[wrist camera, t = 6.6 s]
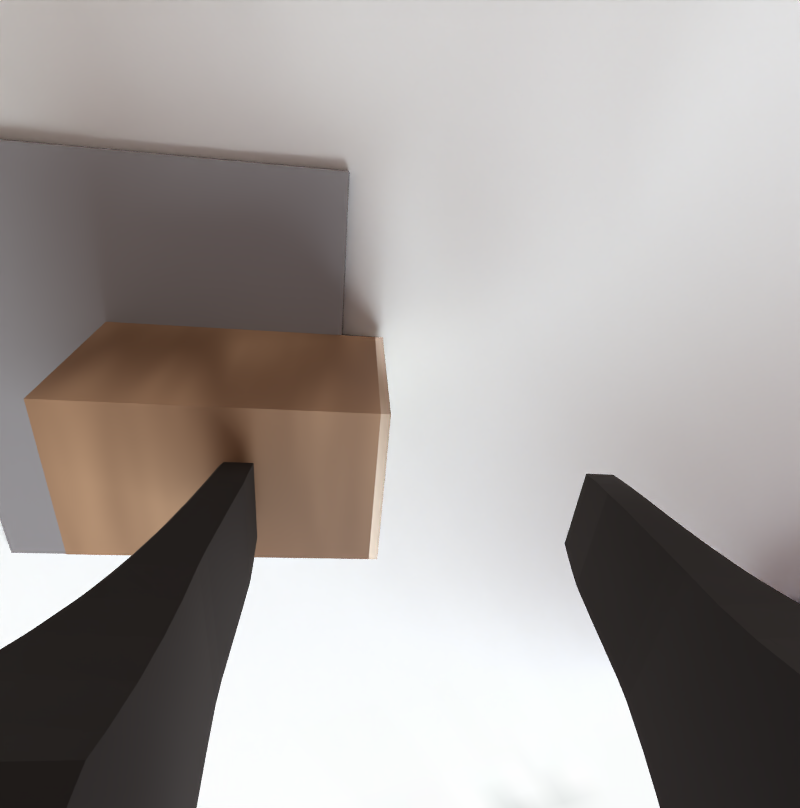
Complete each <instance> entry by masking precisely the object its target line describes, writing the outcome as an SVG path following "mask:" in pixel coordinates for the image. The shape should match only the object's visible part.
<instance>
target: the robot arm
mask: <svg viewBox="0 0 800 808" xmlns="http://www.w3.org/2000/svg"><path fill="white" fill-rule="evenodd" d="M256 543H257V521H256V501H255V481H254V463H241V462H223V463H222V464H221V465H219V466H218V467H217V469H216V470H215V471H214V472H213V473H212V474H211V476H210V477H209V478H208V479H207V480H206V481H205V482H204V484H203V485H202V486H201V487H200V488H199V489H198V490H197V491H196V492H195V494H194V495H193V496H192V497H191V498H190V499H189V500H188V501H187V502H186V503H185V504H184V505H183V506H182V507H181V508H180V509H179V510H178V511H177V513H176V514H175V515H174V516H173V517H172V518H171V519H170V520H169V521H168V522H167V523H166V524H165V525H164V526H163V527H162V528H161V529H160V530H159V531H158V532H157V533H156V534H154V535H153V536H152V537H151V538H150V539H149V540H148V541H147V542H146V543H145V544H144V545H143V546H141V547H140V548H139V549H138V550H137V551H136V552H135V553H134V554H133V555H132V556H131V557H129V558H128V559H127V560H126V561H125V562H124V563H122V564H121V565H120V566H119V567H118V568H117V569H115V570H114V571H113V572H112V573H110V574H109V575H108V576H107V577H106V578H104V579H103V580H102V581H100V582H99V583H98V584H97V585H95V586H94V587H93V588H91V589H90V590H89V591H88V592H86V593H85V594H84V595H82V596H81V597H80V598H78V599H77V600H75V601H74V602H72V603H71V604H70V605H68V606H67V607H65V608H64V609H62V610H61V611H59V612H58V613H56V614H55V615H53V616H52V617H50V618H49V619H47V620H46V621H44V622H43V623H42V624H40V625H39V626H37V627H36V628H34V629H33V630H31V631H30V632H28V633H26V634H25V635H23V636H22V637H20V638H18V639H17V640H15V641H13V642H12V643H10V644H9V645H7V646H5V647H4V648H2V649H0V808H196V807H197V802H198V796H199V790H200V785H201V779H202V774H203V768H204V763H205V757H206V752H207V746H208V741H209V736H210V731H211V725H212V720H213V715H214V710H215V705H216V701H217V697H218V693H219V688H220V684H221V681H222V677H223V674H224V670H225V667H226V663H227V660H228V657H229V653H230V650H231V646H232V643H233V639H234V636H235V633H236V629H237V626H238V622H239V619H240V615H241V612H242V608H243V605H244V601H245V598H246V594H247V591H248V587H249V584H250V579H251V573H252V567H253V562H254V555H255V549H256ZM565 546H566V550H567V554H568V558H569V561H570V565H571V569H572V572H573V575H574V578H575V582H576V585H577V587H578V590H579V592H580V595H581V597H582V599H583V602H584V604H585V606H586V608H587V611H588V613H589V615H590V618H591V620H592V622H593V624H594V627H595V629H596V631H597V633H598V636H599V638H600V640H601V642H602V645H603V647H604V649H605V651H606V654H607V656H608V658H609V660H610V663H611V665H612V667H613V669H614V672H615V674H616V676H617V678H618V681H619V683H620V686H621V688H622V691H623V693H624V696H625V698H626V701H627V704H628V706H629V710H630V713H631V716H632V719H633V722H634V725H635V728H636V731H637V734H638V737H639V740H640V743H641V746H642V749H643V752H644V755H645V759H646V762H647V765H648V769H649V772H650V775H651V779H652V782H653V785H654V789H655V792H656V795H657V799H658V802H659V806H660V808H800V604H799V603H797V602H795V601H793V600H792V599H790V598H788V597H787V596H785V595H783V594H782V593H780V592H778V591H777V590H775V589H773V588H772V587H770V586H768V585H767V584H765V583H763V582H762V581H760V580H759V579H757V578H755V577H754V576H752V575H751V574H749V573H748V572H746V571H745V570H743V569H742V568H740V567H739V566H737V565H736V564H734V563H733V562H731V561H730V560H728V559H727V558H725V557H724V556H723V555H721V554H720V553H718V552H717V551H715V550H714V549H712V548H711V547H710V546H708V545H707V544H705V543H704V542H703V541H701V540H700V539H699V538H697V537H696V536H694V535H693V534H692V533H690V532H689V531H688V530H686V529H685V528H684V527H682V526H681V525H680V524H678V523H677V522H676V521H674V520H673V519H672V518H670V517H669V516H668V515H667V514H665V513H664V512H663V511H661V510H660V509H659V508H657V507H656V506H655V505H654V504H652V503H651V502H650V501H648V500H647V499H646V498H644V497H643V496H642V495H640V494H639V493H638V492H636V491H635V490H634V489H633V488H631V487H630V486H628V485H627V484H626V483H624V482H623V481H621V480H620V479H618V478H617V477H615V476H614V475H603V474H586V476H585V480H584V483H583V486H582V489H581V493H580V496H579V499H578V502H577V506H576V509H575V512H574V515H573V519H572V522H571V525H570V528H569V532H568V535H567V538H566V541H565Z"/></svg>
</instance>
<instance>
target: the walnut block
mask: <svg viewBox="0 0 800 808" xmlns="http://www.w3.org/2000/svg"><path fill="white" fill-rule="evenodd" d="M24 402H25V406H26V409H27V413H28V417H29V420H30V424H31V428H32V431H33V435H34V439H35V442H36V446H37V449H38V453H39V457H40V460H41V464H42V468H43V471H44V475H45V479H46V482H47V486H48V490H49V493H50V497H51V501H52V504H53V508H54V512H55V515H56V519H57V522H58V526H59V530H60V533H61V537H62V541H63V544H64V548H65V552H66V554H88V555H133V554H134V553H135V552H136V551H137V550H138V549H139V548H140V547H141V546H143V545H144V544H145V543H146V542H147V541H148V540H149V539H150V538H151V537H152V536H153V535H154V534H156V533H157V532H158V531H159V530H160V529H161V528H162V527H163V526H164V525H165V524H166V523H167V522H168V521H169V520H170V519H171V518H172V517H173V516H174V515H175V514H176V513H177V511H178V510H179V509H180V508H181V507H182V506H183V505H184V504H185V503H186V502H187V501H188V500H189V499H190V498H191V497H192V496H193V495H194V494H195V492H196V491H197V490H198V489H199V488H200V487H201V486H202V485H203V484H204V482H205V481H206V480H207V479H208V478H209V477H210V476H211V474H212V473H213V472H214V471H215V470H216V469H217V467H218V466H219V465H221V464H222V463H223V462H241V463H254V481H255V501H256V521H257V543H256V549H255V555H254V557H278V558H341V559H377V554H378V544H379V533H380V523H381V512H382V502H383V491H384V481H385V470H386V460H387V449H388V439H389V428H390V418H391V412H390V402H389V393H388V383H387V374H386V364H385V355H384V345H383V338H382V337H365V336H347V335H330V334H312V333H295V332H277V331H260V330H242V329H225V328H207V327H190V326H172V325H155V324H137V323H120V322H105V323H104V324H103V325H102V326H101V327H100V328H99V329H97V330H96V331H95V332H94V333H93V334H92V335H91V336H90V337H89V338H88V339H87V340H86V341H85V342H84V343H82V344H81V345H80V346H79V347H78V348H77V349H76V350H75V351H74V352H73V353H72V354H71V355H70V356H69V357H68V358H66V359H65V360H64V361H63V362H62V363H61V364H60V365H59V366H58V367H57V368H56V369H55V370H54V371H53V372H52V373H50V374H49V375H48V376H47V377H46V378H45V379H44V380H43V381H42V382H41V383H40V384H39V385H38V386H37V387H36V388H34V389H33V390H32V391H31V392H30V393H29V394H28V395H27V396H26V397H25V398H24Z"/></svg>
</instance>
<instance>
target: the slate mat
mask: <svg viewBox="0 0 800 808" xmlns="http://www.w3.org/2000/svg"><path fill="white" fill-rule="evenodd" d="M348 187H349V171H345V170H333V169H322V168H311V167H300V166H289V165H278V164H267V163H256V162H245V161H234V160H223V159H212V158H201V157H190V156H179V155H168V154H157V153H146V152H135V151H123V150H112V149H101V148H90V147H79V146H68V145H57V144H46V143H35V142H24V141H13V140H2V139H0V520H1V523H2V526H3V529H4V532H5V535H6V538H7V541H8V544H9V547H10V550H11V553H64V554H66V552H65V548H64V544H63V541H62V537H61V533H60V530H59V526H58V522H57V519H56V515H55V512H54V508H53V504H52V501H51V497H50V493H49V490H48V486H47V482H46V479H45V475H44V471H43V468H42V464H41V460H40V457H39V453H38V449H37V446H36V442H35V439H34V435H33V431H32V428H31V424H30V420H29V417H28V413H27V409H26V406H25V402H24V398H25V397H26V396H27V395H28V394H29V393H30V392H31V391H32V390H33V389H34V388H36V387H37V386H38V385H39V384H40V383H41V382H42V381H43V380H44V379H45V378H46V377H47V376H48V375H49V374H50V373H52V372H53V371H54V370H55V369H56V368H57V367H58V366H59V365H60V364H61V363H62V362H63V361H64V360H65V359H66V358H68V357H69V356H70V355H71V354H72V353H73V352H74V351H75V350H76V349H77V348H78V347H79V346H80V345H81V344H82V343H84V342H85V341H86V340H87V339H88V338H89V337H90V336H91V335H92V334H93V333H94V332H95V331H96V330H97V329H99V328H100V327H101V326H102V325H103V324H104V323H105V322H120V323H137V324H155V325H172V326H190V327H207V328H225V329H242V330H260V331H277V332H295V333H312V334H330V335H342V321H343V299H344V277H345V254H346V232H347V210H348Z"/></svg>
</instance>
